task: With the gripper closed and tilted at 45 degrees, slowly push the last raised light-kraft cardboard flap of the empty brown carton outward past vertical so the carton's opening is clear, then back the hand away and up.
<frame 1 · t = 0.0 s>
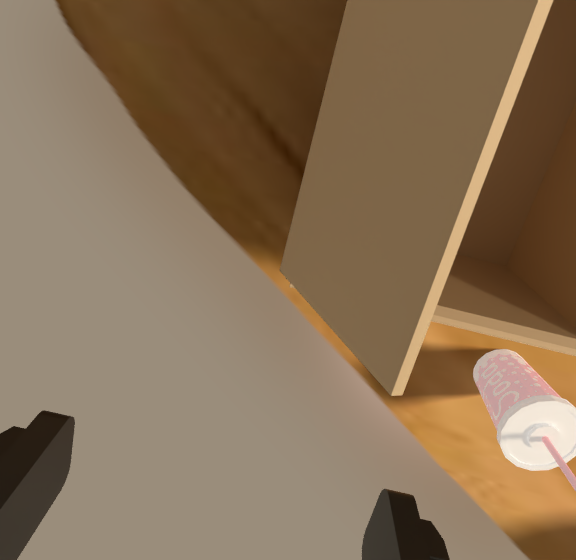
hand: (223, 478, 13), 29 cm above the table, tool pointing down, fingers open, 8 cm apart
carton flap: (411, 42, 18), point 19 cm above the table, hinge at 65.0°
beverage cup: (498, 370, 44), on the table
carton: (453, 92, 36), on the table
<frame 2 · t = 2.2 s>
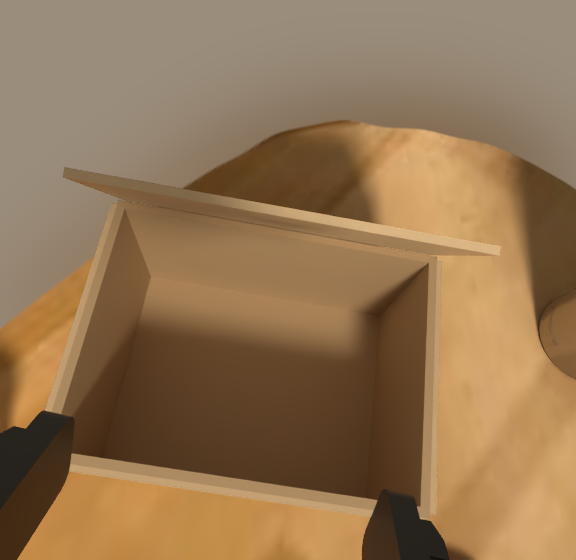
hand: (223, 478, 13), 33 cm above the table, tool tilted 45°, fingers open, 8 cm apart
carton flap: (283, 219, 31), point 19 cm above the table, hinge at 65.0°
carton: (251, 382, 46), on the table
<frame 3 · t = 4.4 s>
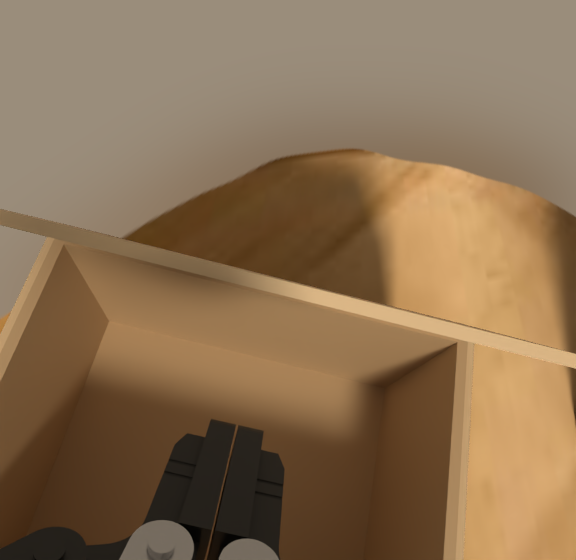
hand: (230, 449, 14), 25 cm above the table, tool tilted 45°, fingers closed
carton flap: (267, 281, 23), point 19 cm above the table, hinge at 65.0°
carton: (221, 464, 37), on the table
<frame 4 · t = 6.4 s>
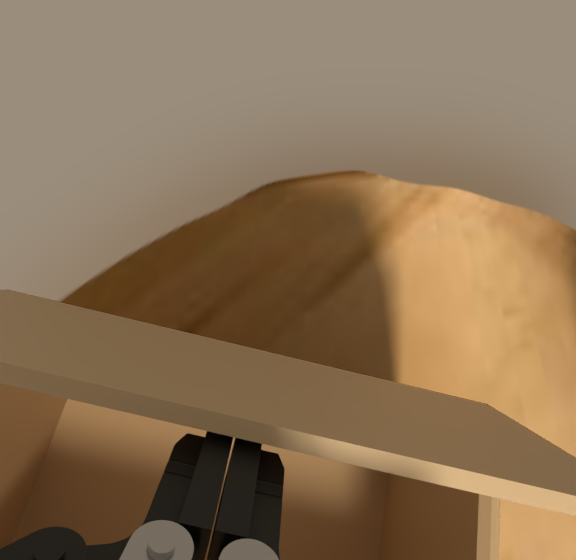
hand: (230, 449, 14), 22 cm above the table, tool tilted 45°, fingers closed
carton flap: (245, 378, 18), point 19 cm above the table, hinge at 65.0°, touching gripper
carton: (203, 544, 32), on the table
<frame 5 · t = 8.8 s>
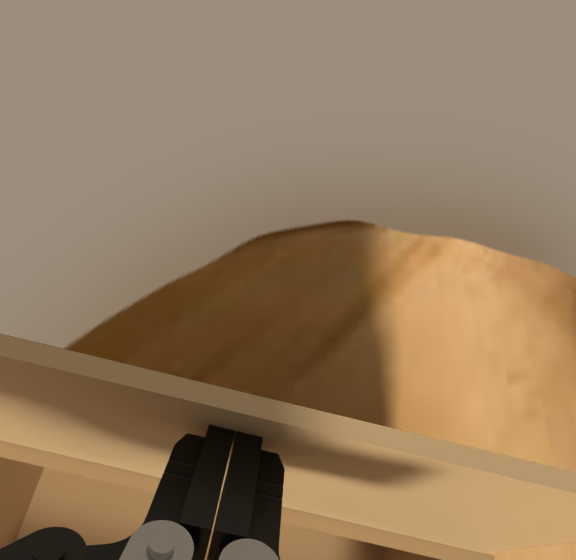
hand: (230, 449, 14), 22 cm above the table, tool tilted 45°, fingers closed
carton flap: (230, 456, 16), point 19 cm above the table, hinge at 99.4°, touching gripper
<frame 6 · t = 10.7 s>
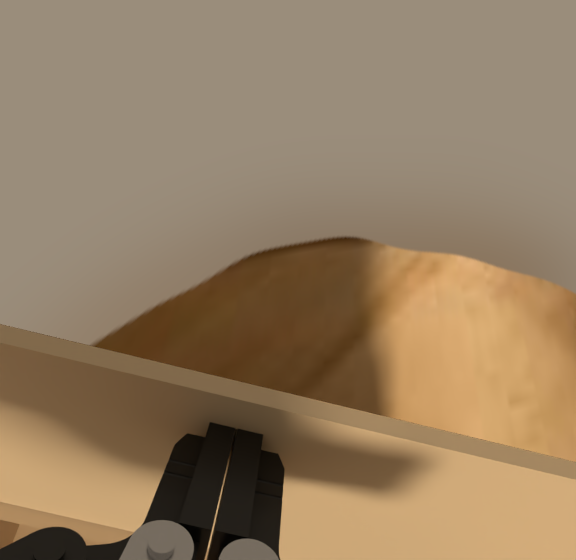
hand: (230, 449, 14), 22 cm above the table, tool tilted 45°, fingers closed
carton flap: (223, 484, 16), point 19 cm above the table, hinge at 113.1°, touching gripper
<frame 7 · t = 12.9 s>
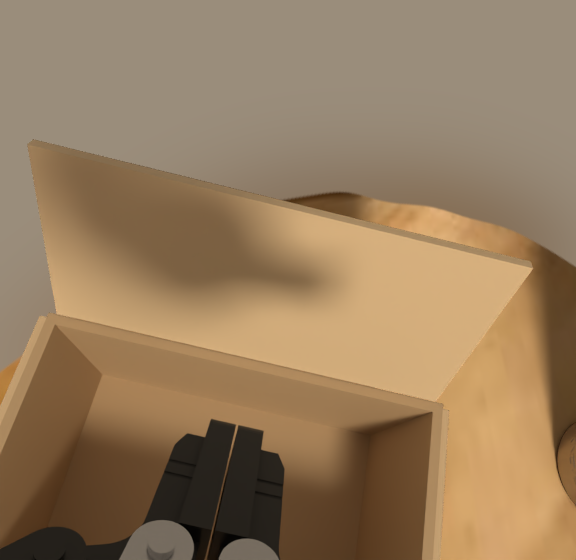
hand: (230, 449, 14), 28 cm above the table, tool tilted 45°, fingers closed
carton flap: (265, 290, 26), point 19 cm above the table, hinge at 113.2°
carton: (211, 514, 38), on the table
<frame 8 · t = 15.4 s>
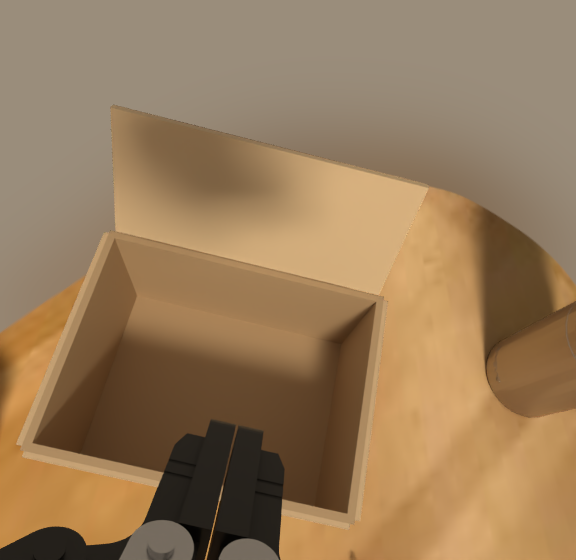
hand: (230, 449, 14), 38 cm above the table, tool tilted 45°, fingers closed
carton flap: (259, 209, 39), point 19 cm above the table, hinge at 113.2°
carton: (220, 397, 51), on the table
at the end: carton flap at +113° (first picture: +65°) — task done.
